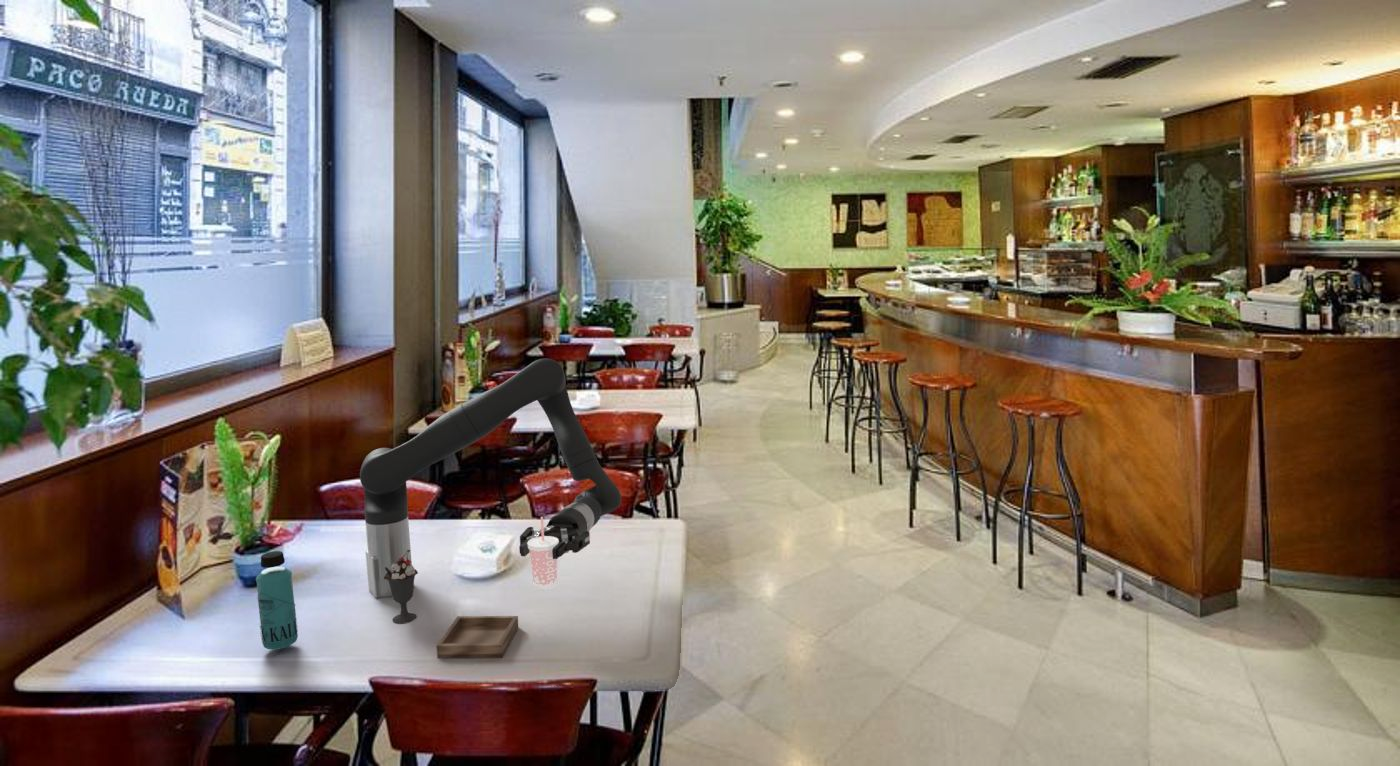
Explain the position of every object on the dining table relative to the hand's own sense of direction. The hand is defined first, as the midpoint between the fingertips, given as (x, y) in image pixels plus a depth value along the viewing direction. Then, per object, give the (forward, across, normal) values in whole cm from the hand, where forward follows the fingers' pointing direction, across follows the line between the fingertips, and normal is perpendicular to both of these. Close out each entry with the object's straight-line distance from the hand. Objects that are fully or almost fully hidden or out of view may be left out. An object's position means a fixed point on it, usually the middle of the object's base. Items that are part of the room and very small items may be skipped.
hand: (538, 552), depth 154 cm
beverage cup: (-2, 0, +8) cm, 8 cm away
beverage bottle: (+11, -51, +20) cm, 56 cm away
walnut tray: (+1, -13, +20) cm, 24 cm away
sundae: (-6, -35, +20) cm, 40 cm away
